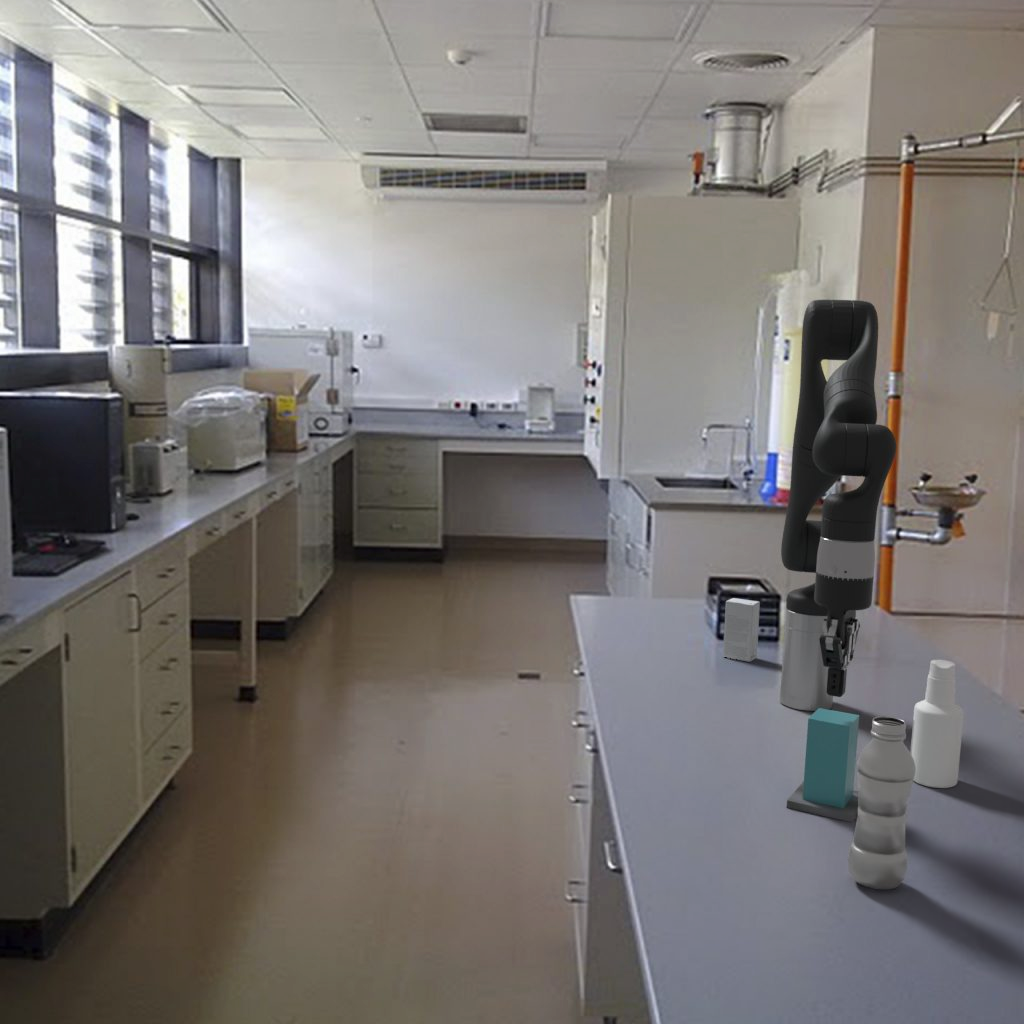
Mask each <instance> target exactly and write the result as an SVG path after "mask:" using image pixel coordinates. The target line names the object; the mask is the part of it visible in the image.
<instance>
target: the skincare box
mask: <svg viewBox="0 0 1024 1024" xmlns="http://www.w3.org/2000/svg"><path fill="white" fill-rule="evenodd" d="M760 604H761V602H760V601H758V600H751V599H750V600H749V599H743V598H736V597H732V598H730V599H728V600H726V601H725V610H724V613H725V614H724V632H723V648H722V649H723V650H722V657H723V658H724V657H727V658H726V659H730V658H731V660H736V659H737V660H738V661H743V662H747V663H749V662H752V661H754V660H756V659H757V657H758V646H759V645H758V642H759V627H760V626H759V624H760V623H759V622H760V608H761V607H760V606H761V605H760Z"/></svg>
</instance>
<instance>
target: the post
mask: <svg viewBox="0 0 1024 1024" xmlns="http://www.w3.org/2000/svg"><path fill="white" fill-rule="evenodd" d="M803 786H804V780H803V781H802V783H801V784H800V785H798V787H797V788H796V789H795V790H794V792H793V793H792V794H791V795H790V797H788V799H786V808H789V809H791V810H795V811H801V812H805V813H810V814H814V815H817V816H824V817H827V818H833V819H836V820H840V821H846V822H847V823H848V822H849V823H854V821H855V820H856V819H857V816H858V806H859V805H858V790H855V789H854V790H853V796H852V797H851V799H850V800H849V801H848V803H847V804H846V806H845V807H844V808H840V807H835V806H831V805H826V804H822V803H817V802H813V801H808V800H804V799H803Z"/></svg>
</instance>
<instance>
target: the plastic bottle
mask: <svg viewBox="0 0 1024 1024" xmlns="http://www.w3.org/2000/svg"><path fill="white" fill-rule="evenodd" d="M871 722H872V723H871V727H872V728H871V729H870V735H871V737H872V739H871V740H870V741H869V742H868V743H867V744H866V745H865V746H864V747H863V749H862V750H861V751H860V753H859V755H858V758H857V759H856V769H857V771H856V775H857V787H858V788H857V789H858V790H857V791H858V805H859V806H858V815H857V817H856V824H855V829H854V833H853V840H852V842H851V845H850V848H849V851H848V857H847V862H848V863H847V864H848V872H849V874H850V876H851V878H853V880H854V881H855V882H856V883H858V884H859V885H862V886H864V887H866V888H870V889H876V890H891V889H895V888H897V887H899V886H900V884H901V883H903V881H904V880H905V876H906V873H907V870H908V860H907V859H908V858H907V857H908V856H907V851H906V820H907V812H908V806H909V799H910V796H911V792H912V788H913V784H914V781H913V780H914V776H915V771H916V767H915V762H914V759H913V757H912V755H911V754H910V752H911V751H910V750H909V749H908V747H907V746H906V745H905V743H904V741H906V739H907V733H906V729H907V728H906V727H907V724H906V721H905V720H903V719H901V718H898V717H894V716H893V717H892V716H875V717H873V718H872V721H871Z"/></svg>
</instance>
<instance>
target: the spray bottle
mask: <svg viewBox="0 0 1024 1024" xmlns="http://www.w3.org/2000/svg"><path fill="white" fill-rule="evenodd" d="M955 674H956V663H955V662H953V661H949V660H946V659H945V660H944V659H932V660H930V667H929V672H928V675H927V679H926V682H927V683H926V689H925V694H924V695H925V697H924V699H922V700H920V701H918V702H916V703H915V704H914V708H913V719H912V729H911V742H910V751H909V752H910V754H911V755H912V757H913V759H914V762H915V767H916V771H915V776H914V780H913V783H914V782H915V783H916V784H918V785H922V786H924V787H928V788H933V789H935V788H936V789H948V788H953V787H955V786H957V784H958V780H959V768H960V760H961V759H960V758H961V748H962V738H963V737H962V736H963V725H964V710H963V709H962V708H961V707H960V706H959V705H957V704H956V701H955V700H956V692H955V691H956V683H957V682H956V681H957V679H956V675H955Z"/></svg>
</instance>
